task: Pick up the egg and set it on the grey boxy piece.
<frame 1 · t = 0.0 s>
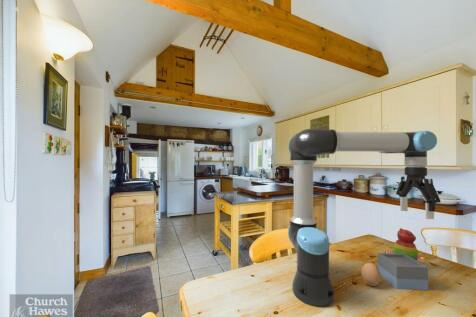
hand: (415, 214, 88), 28 cm above the table, fingers open, 13 cm apart
egg: (370, 285, 82), on the table
stacking bear: (406, 266, 98), on the table
grey boxy piece: (401, 280, 86), on the table
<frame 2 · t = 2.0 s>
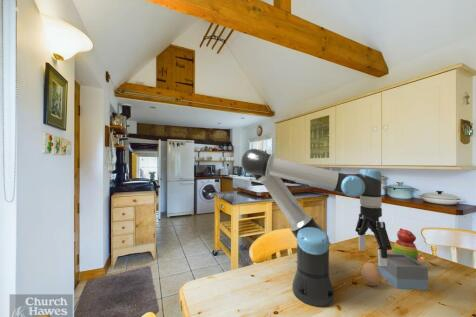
hand: (371, 257, 83), 11 cm above the table, fingers open, 13 cm apart
nothing on the table moved.
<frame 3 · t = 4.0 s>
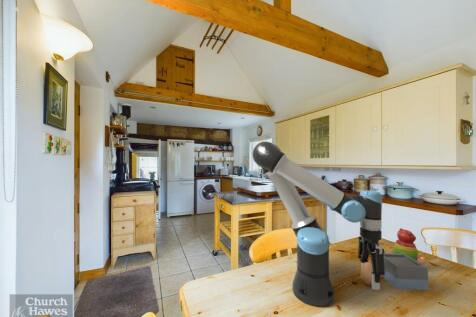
hand: (370, 283, 82), 0 cm above the table, fingers closed on egg, 7 cm apart
egg: (369, 284, 82), on the table, touching gripper
everything else where it was.
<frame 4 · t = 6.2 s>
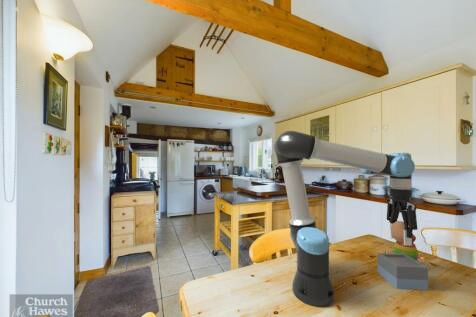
hand: (400, 241, 86), 17 cm above the table, fingers closed on egg, 7 cm apart
egg: (400, 242, 86), point 16 cm above the table, touching gripper
everything else where it was.
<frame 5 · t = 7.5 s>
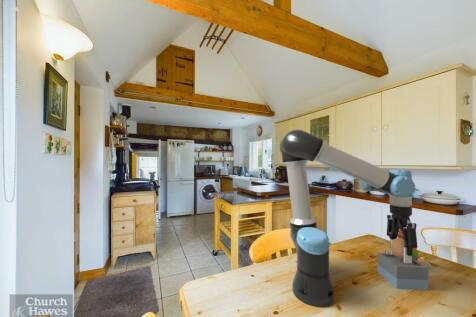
hand: (400, 258, 86), 10 cm above the table, fingers closed on egg, 7 cm apart
egg: (400, 259, 86), point 9 cm above the table, touching gripper
everything else where it was.
when the fingers open (9 cm above the table, at t = 8.2 s): egg drops 1 cm, resting on grey boxy piece.
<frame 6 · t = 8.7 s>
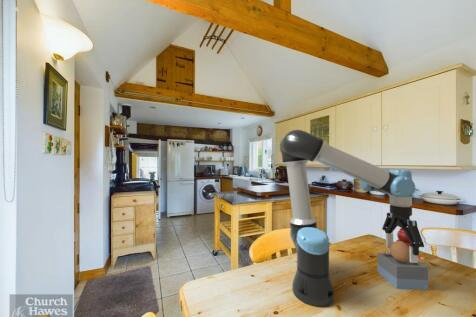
hand: (400, 254, 86), 11 cm above the table, fingers open, 13 cm apart
egg: (400, 262, 86), point 8 cm above the table, touching grey boxy piece
everything else where it was.
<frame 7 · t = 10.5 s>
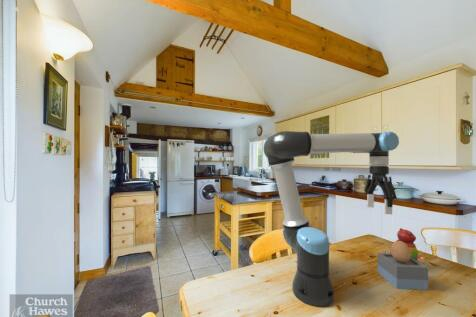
hand: (378, 210, 94), 28 cm above the table, fingers open, 13 cm apart
nothing on the table moved.
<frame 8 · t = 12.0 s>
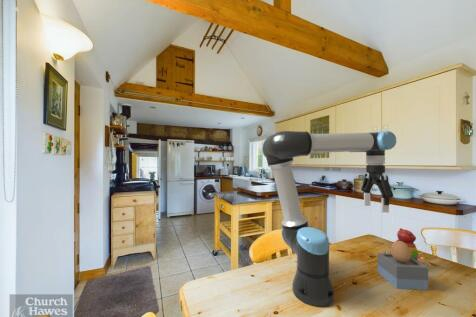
hand: (375, 208, 95), 29 cm above the table, fingers open, 13 cm apart
nothing on the table moved.
at the end: egg inside the target area on the grey boxy piece (0.2 cm from its centre), point 7.8 cm above the grey boxy piece's base; egg touching grey boxy piece; the gripper is holding nothing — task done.
